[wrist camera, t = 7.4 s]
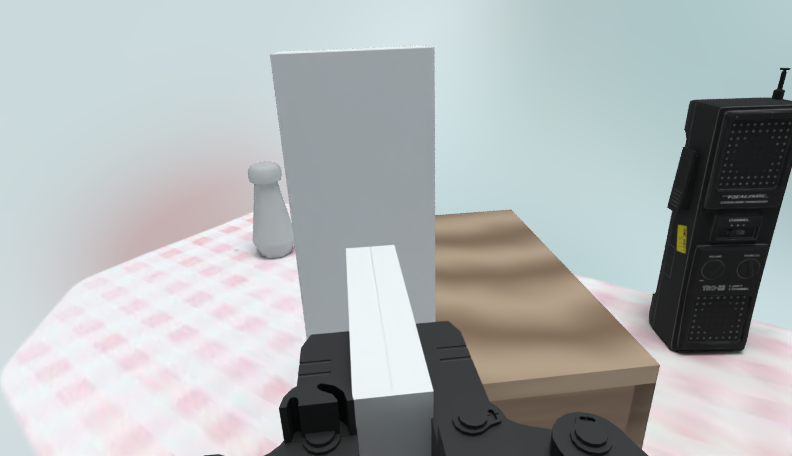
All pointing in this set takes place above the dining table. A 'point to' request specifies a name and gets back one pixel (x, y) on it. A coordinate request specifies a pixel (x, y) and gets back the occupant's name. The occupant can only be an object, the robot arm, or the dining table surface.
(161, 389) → the dining table surface
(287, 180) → the sliding door
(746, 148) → the portable radio
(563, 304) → the wooden cabinet
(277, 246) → the salt shaker
